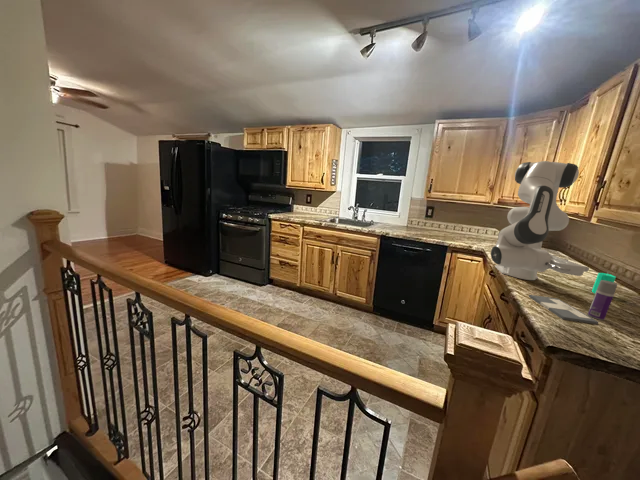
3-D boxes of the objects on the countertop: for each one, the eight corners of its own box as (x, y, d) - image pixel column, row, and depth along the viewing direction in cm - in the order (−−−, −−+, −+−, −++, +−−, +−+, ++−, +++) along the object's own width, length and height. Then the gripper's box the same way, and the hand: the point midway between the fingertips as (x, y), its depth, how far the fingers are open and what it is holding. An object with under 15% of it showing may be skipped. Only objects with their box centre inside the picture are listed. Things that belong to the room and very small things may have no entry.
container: (607, 321, 99) (621, 285, 95) (593, 318, 99) (607, 283, 96) (597, 315, 103) (610, 281, 100) (584, 313, 104) (596, 279, 100)
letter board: (528, 296, 116) (529, 294, 116) (557, 300, 114) (558, 298, 114) (562, 319, 97) (563, 316, 96) (597, 324, 95) (598, 321, 95)
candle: (596, 294, 127) (605, 272, 124) (588, 290, 132) (596, 268, 130) (611, 297, 125) (620, 274, 122) (602, 292, 131) (611, 270, 128)
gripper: (560, 260, 89) (604, 265, 87) (523, 246, 109) (558, 250, 107) (555, 277, 90) (598, 282, 89) (519, 260, 110) (554, 264, 109)
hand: (576, 265), depth 98 cm, fingers open, 8 cm apart
